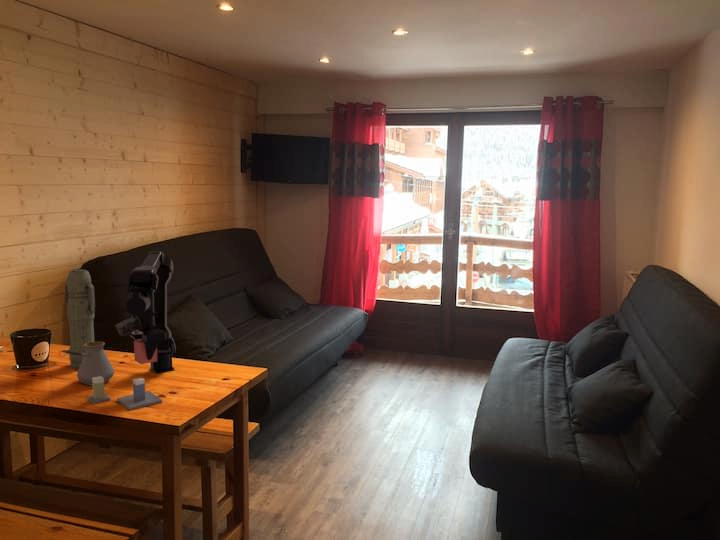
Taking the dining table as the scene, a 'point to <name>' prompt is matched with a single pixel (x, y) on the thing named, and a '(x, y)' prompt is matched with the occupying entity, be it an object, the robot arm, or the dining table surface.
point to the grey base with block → (98, 391)
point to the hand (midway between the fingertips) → (145, 357)
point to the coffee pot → (93, 363)
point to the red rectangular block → (142, 353)
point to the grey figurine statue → (80, 312)
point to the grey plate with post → (139, 396)
